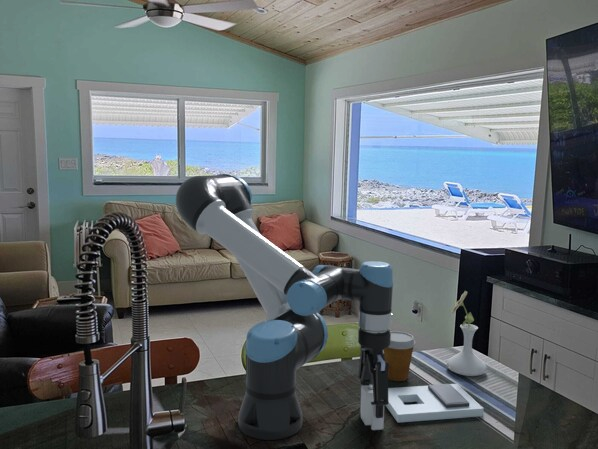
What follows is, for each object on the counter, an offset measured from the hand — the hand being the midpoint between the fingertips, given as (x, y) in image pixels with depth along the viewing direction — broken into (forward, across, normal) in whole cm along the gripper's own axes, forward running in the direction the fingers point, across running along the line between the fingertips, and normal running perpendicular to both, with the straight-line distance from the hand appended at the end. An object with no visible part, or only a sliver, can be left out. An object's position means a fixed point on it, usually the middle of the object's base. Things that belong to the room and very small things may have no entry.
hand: (371, 419), depth 128 cm
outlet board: (0, +5, -17) cm, 18 cm away
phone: (-2, +5, -22) cm, 23 cm away
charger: (0, 0, 0) cm, 0 cm away
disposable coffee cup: (0, +23, -15) cm, 27 cm away
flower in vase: (0, +23, -36) cm, 43 cm away
